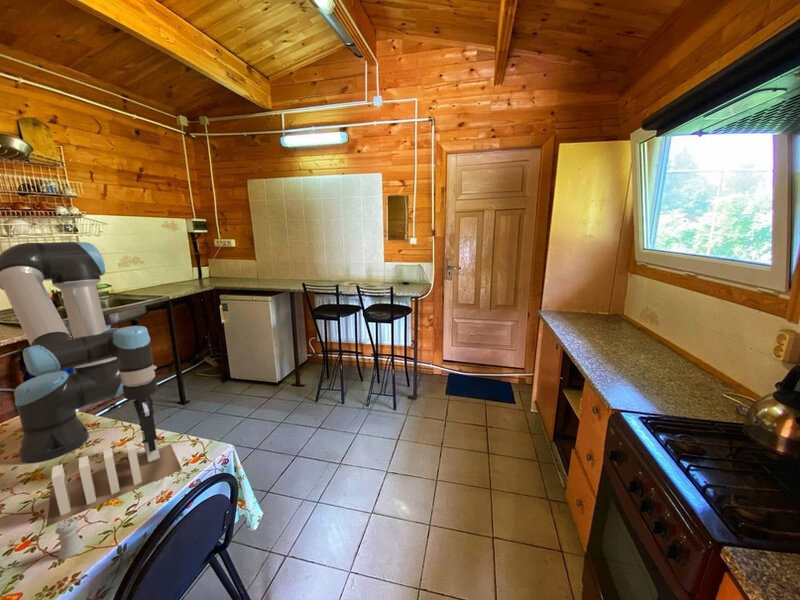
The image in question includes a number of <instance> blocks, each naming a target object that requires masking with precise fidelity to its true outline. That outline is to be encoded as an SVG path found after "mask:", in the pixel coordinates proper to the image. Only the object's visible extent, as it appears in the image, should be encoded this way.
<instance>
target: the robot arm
mask: <svg viewBox="0 0 800 600" xmlns="http://www.w3.org/2000/svg"><path fill="white" fill-rule="evenodd" d="M105 274H106V265H105V261H104V258H103V257H102V254H101V252H100V251H99V249H98V248H97V247H96V246H95V245H94V244H93V243H90V242H81V241H64V242H63V241H58V242H57V241H56V242H55V241H54V242H23V243H19V244H16V245H12V246H10V247H9V248H7V249H5V250H4V251H2V252H1V253H0V290H2V291H4V293H5V295H6V297H7V299H8V301H9V303H10V305H11V308H12V310H13V312H14V314H15V316H16V318H17V320H18V323H19V324H20V326H21V329H22V331H23V333H24V335H25V338H26V340H27V341H28V343H29V347H25V348H24V349H23V350H22V357H23V362H24V364H25V368H26V370H27V371H28V373H29V374H30V375H31V376H35V377H32V378H30V379H28V380H26V381H24V382H23V383H21V384H19V385H18V386H16V388H15V389H14V392H13V394H14V401H15V402H14V404H15V405H14V406H16V407H17V411H18V416H19V420H20V424H21V428H22V432H23V436H22V440H21V446H20V449H19V456H20V460H21V462H24V463H38V462H39V463H40V462H43V461H48V460H52V459H54V458H57V457H61V456H63V455H65V453H66V454H68V453H70V452H72V451H74V450H76V449H78V448H79V446H80V447H81V446H82V445H84V444H85V443H86V442H88V440H89V438H90V434H89V431H88V429H87V427H86V426H85V425H84V424H83V422H82V421H81V420H80V419H79V418H78V415H77V412H76V410H77V409H80V408H84V407H87V406H90V405H92V404H96V403H99V402H102V401H105V400H108V399H115V397H118V396H120V395H122V394H123V397H124V398H125V399H126V400H130V401H131V400H133V401H132V402H133V406H134V409H135V411H136V414H137V418H138V421H139V427H140V431H141V438H142V441H141V444H143V447H144V454H146V453H147V458H148V462H150V461H153V460H155V459H158V458H160V455H159V450H158V449H159V445H158V436H157V432H156V424H155V420H154V413H155V412H154V408H153V405H154V403H153V402H154V401H153V399H152V396H151V395H154V394H155V393H157V392H158V382H157V379H156V378H155V377H156V372H155V370H157V368H158V367H157V365H154V359H153V352H152V351H153V350H152V346H151V336H150V334H149V331H148V328H147V327H146V326H143V325H131V326H125V327H121V328H117V327H113V328H108V329H107V326H106V325H107V324H106V320H105V316H104V313H103V309H102V305H101V300H100V297H99V291H98V288H97V286H98V284H100V283H101V281H102V279H101V277H102V276H104V275H105ZM44 281H51V284H52V286H54V287H55V288H57V289H59V290H60V291H61V295H62V299H63V303H64V307H65V310H66V314H67V316H66V317H67V320H68V323H69V326H70V331H71V333H70V332H69V331H68V328H67V327H66V324H65V322H64V321H63V319H62V317H61V315H60V313H59V312H58V310H57V308H56V306H55V304H54V303H53V301H52V298H51V297H50V295H49V293H48V291H47V289H46V287H45V286H44V284H43V282H44ZM71 334H72V337H71ZM71 368H73V369H74V372H72V373H67V371H65V370H68V369H71ZM87 439H88V440H87ZM84 442H85V443H84ZM83 443H84V444H83ZM77 447H78V448H77Z"/></svg>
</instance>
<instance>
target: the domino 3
mask: <svg viewBox="0 0 800 600" xmlns="http://www.w3.org/2000/svg"><path fill="white" fill-rule="evenodd" d="M102 452H103V459H104V463H105V465H104V466H105V468H106V470H107V475H108V480H109V485H110V489H111V494H114V493H117V492H119V491H120V489H119V483H118V478H117V473H116V468H115V465H116V463H115V459H114V454H113V450H112V447H108V448H106V449H103V450H102Z"/></svg>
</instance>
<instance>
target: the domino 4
mask: <svg viewBox="0 0 800 600" xmlns="http://www.w3.org/2000/svg"><path fill="white" fill-rule="evenodd" d="M125 446H126V450H127V457H128V460H129V462H130V468H131V473H132V478H133V482H134V485H136V484H138V483H141V482H142V480H141V474H140V469H139V464H138V458H137V457H138V453H137V448H136V444H135V441H134V440H133V439H131V440H130V441H127V442H125Z"/></svg>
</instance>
